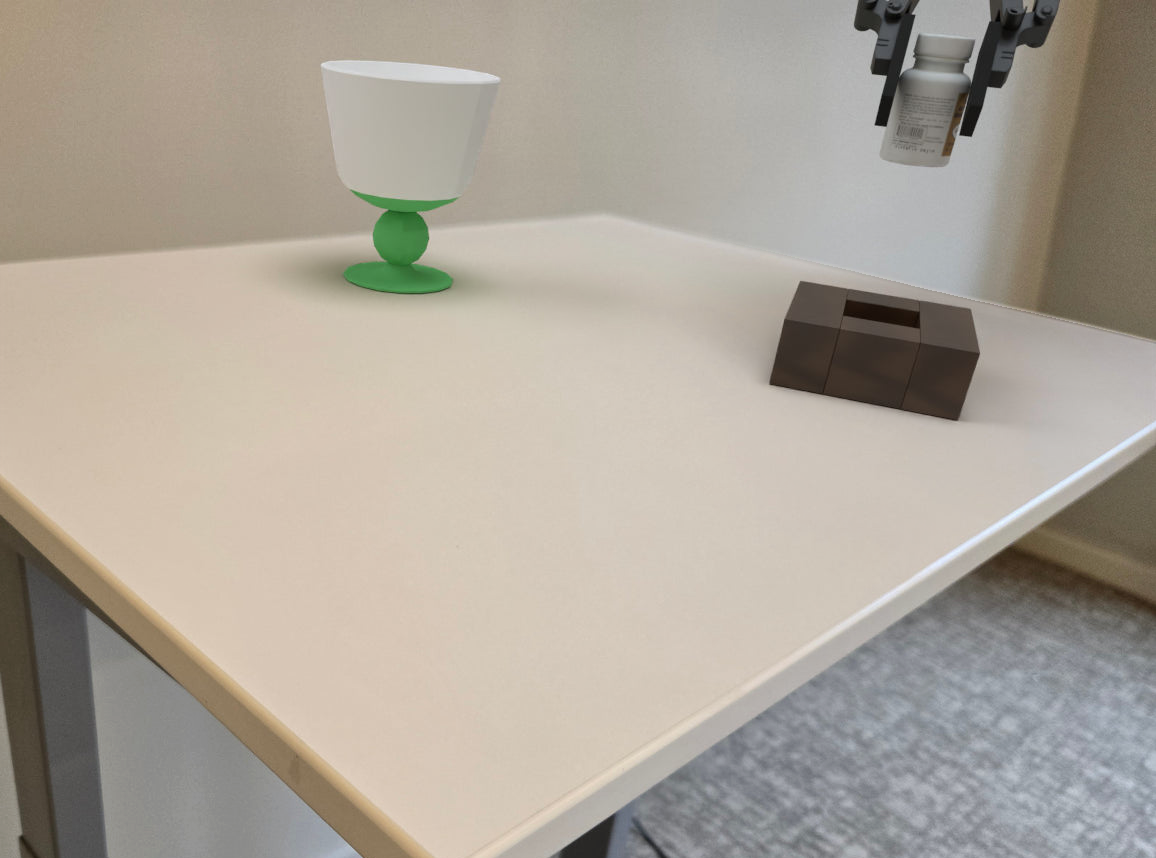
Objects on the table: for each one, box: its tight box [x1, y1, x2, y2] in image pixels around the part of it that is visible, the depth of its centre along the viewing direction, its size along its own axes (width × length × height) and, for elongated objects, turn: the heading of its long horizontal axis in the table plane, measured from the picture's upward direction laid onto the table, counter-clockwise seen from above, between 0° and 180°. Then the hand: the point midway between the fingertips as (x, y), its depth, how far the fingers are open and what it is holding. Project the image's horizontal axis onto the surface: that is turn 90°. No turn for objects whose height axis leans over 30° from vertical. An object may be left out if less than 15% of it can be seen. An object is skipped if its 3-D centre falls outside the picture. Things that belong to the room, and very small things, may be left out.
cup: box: [319, 59, 502, 294], centre depth 85 cm, size 14×14×16 cm
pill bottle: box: [879, 32, 976, 168], centre depth 70 cm, size 4×4×8 cm
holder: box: [768, 280, 981, 421], centre depth 74 cm, size 12×12×4 cm
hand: (927, 115), depth 67 cm, fingers closed on pill bottle, 4 cm apart
